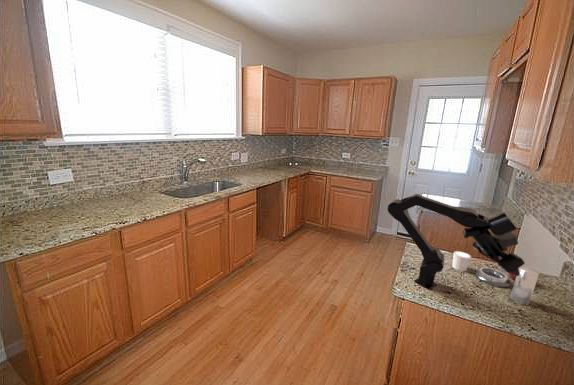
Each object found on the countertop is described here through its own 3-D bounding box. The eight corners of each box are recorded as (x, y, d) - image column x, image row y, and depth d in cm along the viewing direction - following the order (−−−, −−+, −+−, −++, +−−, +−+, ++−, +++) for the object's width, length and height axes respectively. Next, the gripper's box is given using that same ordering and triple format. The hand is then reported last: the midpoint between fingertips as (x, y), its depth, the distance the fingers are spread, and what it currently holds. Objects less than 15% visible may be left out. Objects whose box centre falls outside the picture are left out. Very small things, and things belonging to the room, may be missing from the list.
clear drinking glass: (525, 306, 97) (535, 275, 93) (507, 298, 101) (516, 268, 98) (531, 302, 100) (541, 272, 96) (513, 293, 104) (522, 264, 101)
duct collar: (502, 290, 106) (504, 284, 105) (469, 275, 116) (471, 269, 115) (514, 282, 112) (516, 276, 111) (482, 269, 122) (484, 263, 121)
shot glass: (451, 262, 127) (454, 249, 125) (468, 267, 123) (472, 254, 121) (449, 268, 122) (452, 254, 120) (467, 273, 118) (470, 259, 116)
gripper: (526, 236, 84) (551, 269, 87) (487, 216, 102) (508, 244, 105) (495, 256, 87) (520, 288, 89) (462, 234, 105) (484, 260, 107)
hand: (508, 268), depth 97 cm, fingers open, 9 cm apart
